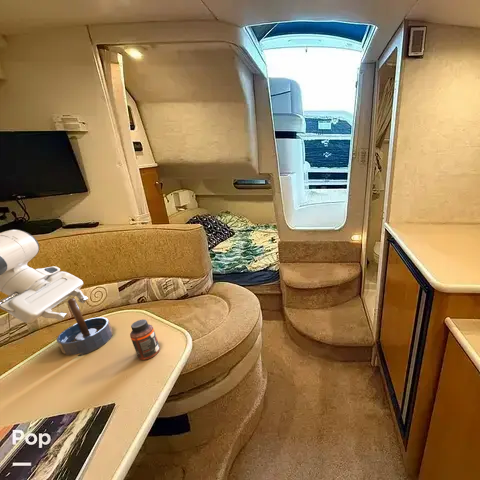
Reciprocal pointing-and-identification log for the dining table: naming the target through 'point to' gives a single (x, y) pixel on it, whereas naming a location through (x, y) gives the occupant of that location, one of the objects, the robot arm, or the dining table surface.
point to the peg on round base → (80, 321)
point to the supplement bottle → (144, 339)
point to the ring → (88, 342)
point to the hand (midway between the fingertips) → (75, 308)
